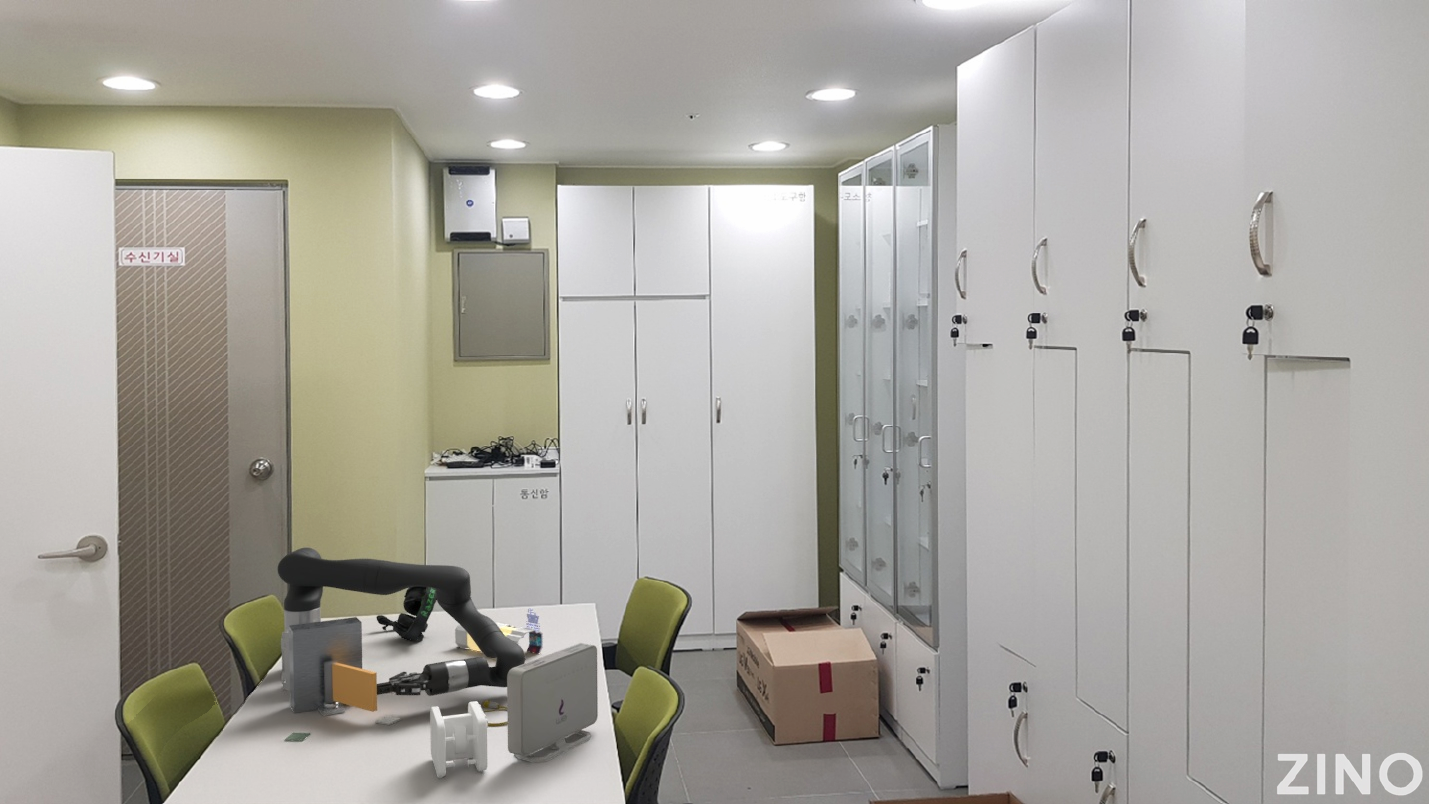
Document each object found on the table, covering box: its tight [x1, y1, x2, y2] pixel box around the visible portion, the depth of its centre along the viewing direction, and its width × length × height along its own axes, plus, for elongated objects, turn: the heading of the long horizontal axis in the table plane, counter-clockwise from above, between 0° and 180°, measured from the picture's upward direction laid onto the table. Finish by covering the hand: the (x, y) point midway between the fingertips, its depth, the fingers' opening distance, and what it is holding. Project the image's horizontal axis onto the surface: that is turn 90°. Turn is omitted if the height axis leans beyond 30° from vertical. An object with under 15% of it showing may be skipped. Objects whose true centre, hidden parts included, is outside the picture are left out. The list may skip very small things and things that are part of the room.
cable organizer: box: [429, 700, 489, 779], centre depth 217 cm, size 15×11×12 cm
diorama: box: [454, 607, 544, 654], centre depth 302 cm, size 25×10×13 cm, turn 57°
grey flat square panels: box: [284, 616, 402, 742], centre depth 247 cm, size 26×26×20 cm
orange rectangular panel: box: [324, 660, 378, 713], centre depth 247 cm, size 18×3×10 cm, turn 57°
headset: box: [376, 586, 437, 642], centre depth 315 cm, size 18×14×29 cm
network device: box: [506, 642, 599, 763], centre depth 228 cm, size 26×9×20 cm, turn 148°
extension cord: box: [466, 700, 508, 727], centre depth 248 cm, size 12×16×2 cm
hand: (373, 690), depth 243 cm, fingers closed
